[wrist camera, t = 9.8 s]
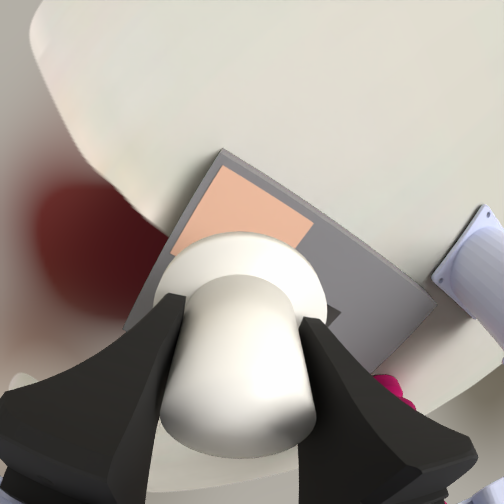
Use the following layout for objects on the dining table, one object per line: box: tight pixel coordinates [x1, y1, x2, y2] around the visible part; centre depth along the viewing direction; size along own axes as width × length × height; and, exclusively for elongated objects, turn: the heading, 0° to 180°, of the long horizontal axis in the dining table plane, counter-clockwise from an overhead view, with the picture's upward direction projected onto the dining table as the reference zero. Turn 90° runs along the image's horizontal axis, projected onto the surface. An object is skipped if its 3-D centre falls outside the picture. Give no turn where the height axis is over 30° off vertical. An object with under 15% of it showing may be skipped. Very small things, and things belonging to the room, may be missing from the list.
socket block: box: [123, 149, 437, 374], centre depth 21 cm, size 19×14×3 cm
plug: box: [153, 231, 327, 459], centre depth 10 cm, size 6×6×7 cm
